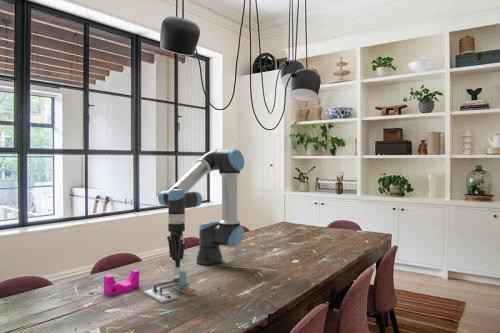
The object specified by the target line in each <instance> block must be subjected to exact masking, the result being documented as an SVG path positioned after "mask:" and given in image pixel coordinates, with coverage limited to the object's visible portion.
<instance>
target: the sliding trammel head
mask: <svg viewBox="0 0 500 333" xmlns="http://www.w3.org/2000/svg"><path fill="white" fill-rule="evenodd" d="M178 277H179V282H177V283H175V284H171V283H170V284H166V285H162V286H159V289H160V293H162V289H165V290H166V289H168V288H172V287H173V286H176V289H175V290H176V292H180V293H182V292H181V286H184V285H188V286H190V282H189V281H188V280H187V270H184V269H183V270H180V271H179V274H178Z"/></svg>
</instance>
